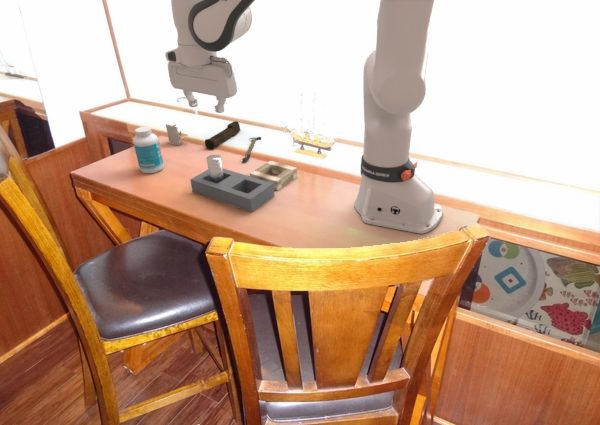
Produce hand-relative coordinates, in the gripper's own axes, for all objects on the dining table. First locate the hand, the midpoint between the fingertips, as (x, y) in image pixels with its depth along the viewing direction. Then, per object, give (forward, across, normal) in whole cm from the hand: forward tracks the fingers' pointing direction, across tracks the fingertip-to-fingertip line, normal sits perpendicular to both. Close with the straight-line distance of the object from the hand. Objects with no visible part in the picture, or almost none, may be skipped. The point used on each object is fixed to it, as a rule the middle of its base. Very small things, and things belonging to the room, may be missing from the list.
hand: (206, 109), depth 114 cm
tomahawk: (+24, +11, -26) cm, 37 cm away
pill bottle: (+24, +28, +1) cm, 37 cm away
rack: (+24, -6, 0) cm, 25 cm away
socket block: (+24, -10, -13) cm, 29 cm away
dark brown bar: (+24, +24, -29) cm, 45 cm away
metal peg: (+24, 0, 0) cm, 24 cm away
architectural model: (+24, +36, -18) cm, 47 cm away
